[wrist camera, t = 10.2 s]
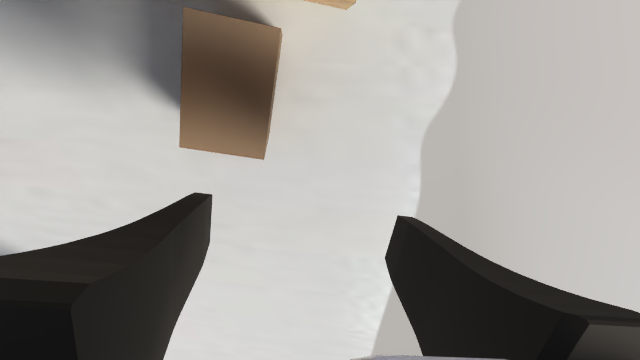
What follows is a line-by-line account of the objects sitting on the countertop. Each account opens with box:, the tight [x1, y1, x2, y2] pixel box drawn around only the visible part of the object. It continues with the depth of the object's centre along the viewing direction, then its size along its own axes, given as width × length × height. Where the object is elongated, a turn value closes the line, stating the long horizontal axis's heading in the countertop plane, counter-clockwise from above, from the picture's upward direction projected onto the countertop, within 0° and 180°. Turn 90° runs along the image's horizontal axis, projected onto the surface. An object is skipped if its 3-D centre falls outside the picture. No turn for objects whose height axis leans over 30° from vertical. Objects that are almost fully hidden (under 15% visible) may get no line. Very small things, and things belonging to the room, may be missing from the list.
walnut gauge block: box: [179, 7, 282, 160], centre depth 16 cm, size 6×4×5 cm, turn 169°
